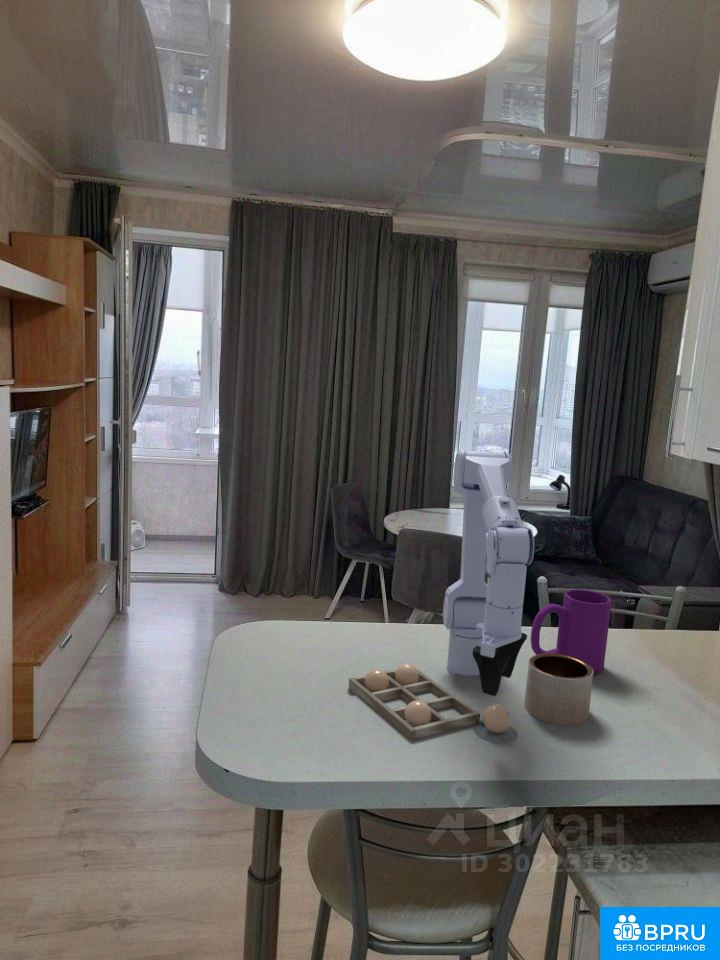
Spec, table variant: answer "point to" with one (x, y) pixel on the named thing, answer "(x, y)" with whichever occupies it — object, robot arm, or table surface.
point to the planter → (558, 689)
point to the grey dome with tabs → (495, 734)
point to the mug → (578, 627)
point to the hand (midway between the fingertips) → (497, 684)
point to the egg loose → (496, 718)
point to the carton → (408, 695)
